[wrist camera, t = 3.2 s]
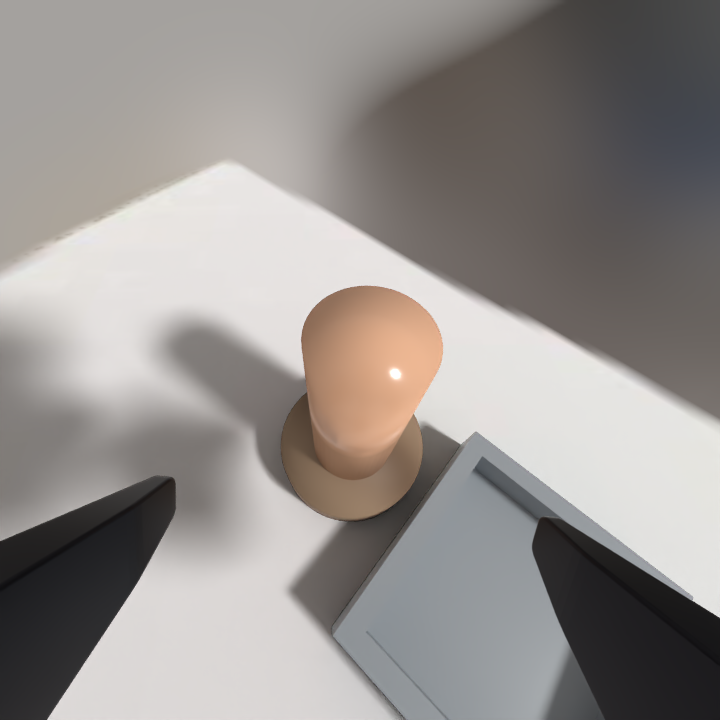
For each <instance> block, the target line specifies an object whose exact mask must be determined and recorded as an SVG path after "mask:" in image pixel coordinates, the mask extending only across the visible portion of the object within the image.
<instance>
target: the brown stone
mask: <svg viewBox="0 0 720 720" xmlns="http://www.w3.org/2000/svg"><path fill="white" fill-rule="evenodd" d="M281 455H282V462H283V465H284V468H285V471H286V474H287V476H288V478H289V480H290V482H291V484H292V487H293V488H294V490H295V491H296V493H297V495H298V496H299V497H300V498H301V499H302V501H303V502H304V503H305V504H307V505H308V506H309V507H310V508H311V509H313V510H314V511H316V512H317V513H319V514H321V515H323V516H325V517H328V518H331V519H334V520H339V521H362V520H366V519H370V518H373V517H375V516H378V515H380V514H382V513H383V512H385V511H386V510H388V509H390V508H391V507H392V506H393V505H394V504H395V503H396V502H398V501H399V500H400V499H401V498H402V497H403V496H404V495H405V494H406V493H407V491H408V490H409V489H410V487H411V486H412V484H413V483H414V481H415V479H416V477H417V475H418V472H419V469H420V466H421V461H422V455H423V443H422V435H421V431H420V427H419V424H418V422H417V419H416V417H415V415H414V414H413V415H412V417H411V419H410V421H409V422H408V424H407V426H406V428H405V429H404V431H403V433H402V435H401V437H400V438H399V440H398V442H397V444H396V445H395V447H394V449H393V451H392V452H391V454H390V456H389V458H388V459H387V461H386V463H385V464H384V466H383V467H382V468H381V469H380V470H379V471H378V472H376V473H375V474H373V475H372V476H370V477H367V478H364V479H360V480H346V479H342V478H339V477H337V476H334V475H333V474H331V473H330V472H329V471H327V470H326V469H325V468H324V467H323V466H322V464H321V463H320V461H319V460H318V458H317V456H316V453H315V449H314V442H313V434H312V426H311V418H310V410H309V402H308V394H307V393H306V394H305V395H303V396H302V397H301V398H300V399H299V401H298V402H297V403H296V404H295V405H294V407H293V408H292V410H291V411H290V413H289V415H288V417H287V419H286V422H285V424H284V428H283V432H282V438H281Z"/></svg>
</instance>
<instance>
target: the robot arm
mask: <svg viewBox="0 0 720 720" xmlns="http://www.w3.org/2000/svg"><path fill="white" fill-rule="evenodd" d="M175 509H176V484H175V480H174V478H172V477H167V476H154V477H151V478H149V479H147V480H144V481H142V482H139V483H137V484H135V485H132V486H130V487H128V488H125V489H123V490H120V491H118V492H116V493H113V494H111V495H109V496H106V497H104V498H102V499H99V500H97V501H94V502H92V503H90V504H87V505H85V506H83V507H80V508H78V509H75V510H73V511H71V512H68V513H66V514H64V515H61V516H59V517H57V518H54V519H52V520H49V521H47V522H45V523H42V524H40V525H38V526H35V527H33V528H30V529H28V530H26V531H23V532H21V533H19V534H16V535H14V536H12V537H9V538H7V539H4V540H2V541H0V720H47V719H48V717H49V716H50V714H51V713H52V711H53V710H54V708H55V707H56V705H57V704H58V702H59V701H60V699H61V698H62V696H63V695H64V693H65V692H66V690H67V689H68V687H69V686H70V684H71V683H72V681H73V680H74V678H75V677H76V675H77V673H78V672H79V670H80V669H81V667H82V666H83V664H84V663H85V661H86V660H87V658H88V657H89V655H90V654H91V652H92V651H93V649H94V648H95V646H96V645H97V643H98V642H99V640H100V639H101V637H102V636H103V634H104V633H105V631H106V630H107V628H108V627H109V625H110V624H111V622H112V621H113V619H114V618H115V616H116V615H117V613H118V612H119V610H120V609H121V607H122V606H123V604H124V603H125V601H126V600H127V598H128V597H129V595H130V594H131V592H132V590H133V589H134V587H135V586H136V584H137V583H138V581H139V579H140V577H141V576H142V574H143V572H144V570H145V569H146V567H147V565H148V563H149V561H150V559H151V557H152V555H153V554H154V552H155V550H156V548H157V546H158V544H159V542H160V541H161V539H162V537H163V535H164V533H165V531H166V529H167V528H168V526H169V524H170V522H171V520H172V518H173V516H174V513H175ZM532 552H533V556H534V558H535V561H536V564H537V566H538V569H539V572H540V574H541V577H542V580H543V582H544V585H545V588H546V590H547V593H548V596H549V599H550V601H551V604H552V607H553V609H554V612H555V614H556V617H557V619H558V622H559V624H560V626H561V628H562V631H563V633H564V635H565V637H566V639H567V641H568V644H569V646H570V648H571V650H572V652H573V654H574V656H575V658H576V660H577V663H578V665H579V667H580V669H581V671H582V673H583V675H584V677H585V679H586V682H587V684H588V686H589V688H590V690H591V692H592V694H593V696H594V698H595V701H596V703H597V705H598V707H599V709H600V711H601V713H602V715H603V717H604V720H720V618H719V617H717V616H716V615H714V614H713V613H711V612H709V611H708V610H706V609H705V608H703V607H701V606H700V605H698V604H697V603H695V602H693V601H692V600H690V599H689V598H687V597H685V596H684V595H682V594H681V593H679V592H677V591H676V590H674V589H673V588H671V587H669V586H668V585H666V584H665V583H663V582H661V581H660V580H658V579H657V578H655V577H653V576H652V575H650V574H649V573H647V572H645V571H644V570H642V569H641V568H639V567H637V566H636V565H634V564H633V563H631V562H629V561H628V560H626V559H625V558H623V557H621V556H620V555H618V554H617V553H615V552H613V551H612V550H610V549H609V548H607V547H605V546H604V545H602V544H601V543H599V542H597V541H596V540H594V539H592V538H591V537H589V536H588V535H586V534H584V533H583V532H581V531H580V530H578V529H576V528H575V527H573V526H572V525H570V524H568V523H567V522H565V521H564V520H562V519H560V518H557V517H549V516H543V517H541V518H540V519H539V521H538V524H537V528H536V531H535V535H534V538H533V541H532Z"/></svg>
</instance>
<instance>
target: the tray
mask: <svg viewBox="0 0 720 720" xmlns="http://www.w3.org/2000/svg"><path fill="white" fill-rule="evenodd" d="M543 516H549V517H557V518H560V519H562V520H564V521H565V522H567V523H568V524H570V525H572V526H573V527H575V528H576V529H578V530H580V531H581V532H583V533H584V534H586V535H588V536H589V537H591V538H592V539H594V540H596V541H597V542H599V543H601V544H602V545H604V546H605V547H607V548H609V549H610V550H612V551H613V552H615V553H617V554H618V555H620V556H621V557H623V558H625V559H626V560H628V561H629V562H631V563H633V564H634V565H636V566H637V567H639V568H641V569H642V570H644V571H645V572H647V573H649V574H650V575H652V576H653V577H655V578H657V579H658V580H660V581H661V582H663V583H665V584H666V585H668V586H669V587H671V588H673V589H674V590H676V591H677V592H679V593H681V594H682V595H684V596H685V597H687V598H689V599H690V600H693V596H691V595H690V594H689V593H687V592H686V591H685V590H683V589H682V588H681V587H679V586H678V585H677V584H675V583H674V582H673V581H672V580H670V579H669V578H668V577H666V576H665V575H664V574H662V573H661V572H660V571H658V570H657V569H656V568H654V567H653V566H652V565H651V564H649V563H648V562H647V561H645V560H644V559H643V558H641V557H640V556H639V555H637V554H636V553H635V552H634V551H632V550H631V549H630V548H628V547H627V546H626V545H624V544H623V543H622V542H620V541H619V540H618V539H616V538H615V537H614V536H613V535H611V534H610V533H609V532H607V531H606V530H605V529H603V528H602V527H601V526H599V525H598V524H597V523H596V522H594V521H593V520H592V519H590V518H589V517H588V516H586V515H585V514H584V513H582V512H581V511H580V510H578V509H577V508H576V507H575V506H573V505H572V504H571V503H569V502H568V501H567V500H565V499H564V498H563V497H561V496H560V495H559V494H557V493H556V492H555V491H554V490H552V489H551V488H550V487H548V486H547V485H546V484H544V483H543V482H542V481H540V480H539V479H538V478H537V477H535V476H534V475H533V474H531V473H530V472H529V471H527V470H526V469H525V468H523V467H522V466H521V465H519V464H518V463H517V462H516V461H514V460H513V459H512V458H510V457H509V456H508V455H506V454H505V453H504V452H502V451H501V450H500V449H498V448H497V447H496V446H495V445H493V444H492V443H491V442H489V441H488V440H487V439H485V438H484V437H483V436H481V435H480V434H479V433H478V432H475V433H473V434H472V435H471V436H470V437H469V438H468V439H467V440H466V441H465V442H463V443H462V444H461V445H460V447H459V448H458V450H457V451H456V453H455V454H454V455H453V457H452V458H451V460H450V461H449V462H448V464H447V465H446V467H445V468H444V469H443V471H442V472H441V474H440V475H439V476H438V478H437V479H436V481H435V482H434V483H433V485H432V486H431V488H430V489H429V490H428V492H427V493H426V495H425V496H424V498H423V499H422V500H421V502H420V503H419V505H418V506H417V507H416V509H415V510H414V512H413V513H412V514H411V516H410V517H409V519H408V520H407V521H406V523H405V524H404V526H403V527H402V528H401V530H400V531H399V533H398V534H397V536H396V537H395V538H394V540H393V541H392V543H391V544H390V545H389V547H388V548H387V550H386V551H385V552H384V554H383V555H382V557H381V558H380V559H379V561H378V562H377V564H376V565H375V566H374V568H373V569H372V571H371V572H370V573H369V575H368V576H367V578H366V579H365V581H364V582H363V583H362V585H361V586H360V588H359V589H358V590H357V592H356V593H355V595H354V596H353V597H352V599H351V600H350V602H349V603H348V604H347V606H346V607H345V609H344V610H343V611H342V613H341V614H340V616H339V617H338V619H337V620H336V621H335V623H334V624H333V626H332V636H333V637H334V638H335V639H336V640H337V642H338V643H339V644H340V645H341V646H342V647H343V648H344V650H345V651H346V652H347V653H348V654H349V655H350V656H351V657H352V659H353V660H354V661H355V662H356V663H357V664H358V665H359V667H360V668H361V669H362V670H363V671H364V672H365V673H366V674H367V676H368V677H369V678H370V679H371V680H372V681H373V682H374V684H375V685H376V686H377V687H378V688H379V689H380V690H381V691H382V693H383V694H384V695H385V696H386V697H387V698H388V699H389V701H390V702H391V703H392V704H393V705H394V706H395V707H396V708H397V710H398V711H399V712H400V713H401V714H402V715H403V716H404V718H405V719H406V720H604V717H603V715H602V713H601V711H600V709H599V707H598V705H597V703H596V701H595V698H594V696H593V694H592V692H591V690H590V688H589V686H588V684H587V682H586V679H585V677H584V675H583V673H582V671H581V669H580V667H579V665H578V663H577V660H576V658H575V656H574V654H573V652H572V650H571V648H570V646H569V644H568V641H567V639H566V637H565V635H564V633H563V631H562V628H561V626H560V624H559V622H558V619H557V617H556V614H555V612H554V609H553V607H552V604H551V601H550V599H549V596H548V593H547V590H546V588H545V585H544V582H543V580H542V577H541V574H540V572H539V569H538V566H537V564H536V561H535V558H534V556H533V552H532V541H533V538H534V535H535V531H536V528H537V524H538V521H539V519H540V518H541V517H543Z"/></svg>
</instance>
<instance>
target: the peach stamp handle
mask: <svg viewBox="0 0 720 720" xmlns="http://www.w3.org/2000/svg"><path fill="white" fill-rule="evenodd" d="M301 343H302V353H303V361H304V369H305V378H306V386H307V394H308V402H309V410H310V418H311V426H312V434H313V442H314V449H315V453H316V456H317V458H318V460H319V461H320V463H321V464H322V466H323V467H324V468H325V469H326V470H327V471H329V472H330V473H331V474H333V475H334V476H337V477H339V478H342V479H346V480H360V479H364V478H367V477H370V476H372V475H373V474H375V473H376V472H378V471H379V470H380V469H381V468H382V467H383V466H384V464H385V463H386V461H387V459H388V458H389V456H390V454H391V452H392V451H393V449H394V447H395V445H396V444H397V442H398V440H399V438H400V437H401V435H402V433H403V431H404V429H405V428H406V426H407V424H408V422H409V421H410V419H411V417H412V415H413V414H414V412H415V410H416V408H417V407H418V405H419V403H420V401H421V400H422V398H423V396H424V394H425V393H426V391H427V389H428V387H429V386H430V384H431V382H432V380H433V378H434V377H435V375H436V373H437V371H438V369H439V367H440V364H441V361H442V355H443V343H442V337H441V334H440V331H439V329H438V326H437V324H436V322H435V321H434V319H433V318H432V316H431V315H430V314H429V313H428V312H427V310H426V309H424V308H423V307H422V306H421V305H420V304H419V303H417V302H416V301H415V300H413V299H412V298H410V297H408V296H406V295H404V294H402V293H400V292H397V291H395V290H392V289H388V288H384V287H377V286H357V287H350V288H346V289H343V290H340V291H337V292H335V293H333V294H331V295H329V296H327V297H326V298H324V299H323V300H322V301H320V302H319V303H318V304H317V305H316V306H315V307H314V308H313V309H312V311H311V312H310V314H309V315H308V317H307V319H306V321H305V323H304V326H303V330H302V337H301Z"/></svg>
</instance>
